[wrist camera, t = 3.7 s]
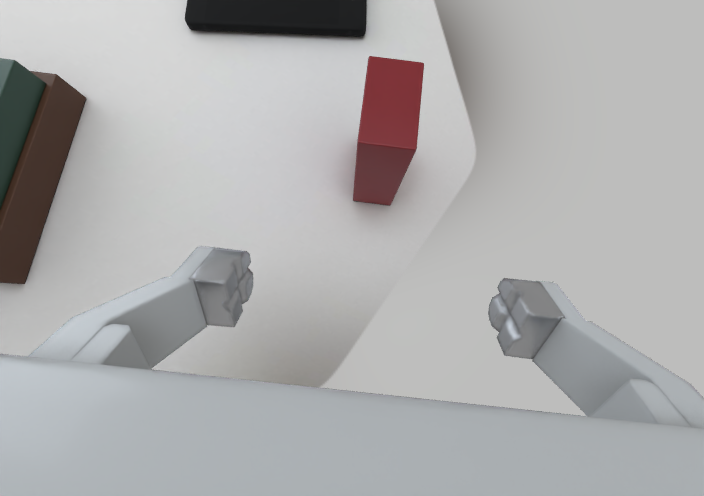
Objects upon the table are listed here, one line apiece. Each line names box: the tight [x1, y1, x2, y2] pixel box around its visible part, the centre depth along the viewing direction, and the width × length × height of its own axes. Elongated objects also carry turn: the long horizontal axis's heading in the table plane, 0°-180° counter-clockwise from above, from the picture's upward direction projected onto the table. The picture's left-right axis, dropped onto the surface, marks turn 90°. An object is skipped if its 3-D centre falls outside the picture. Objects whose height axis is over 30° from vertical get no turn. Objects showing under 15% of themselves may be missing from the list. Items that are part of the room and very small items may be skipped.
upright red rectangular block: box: [353, 56, 424, 205], centre depth 23 cm, size 6×4×10 cm, turn 173°
